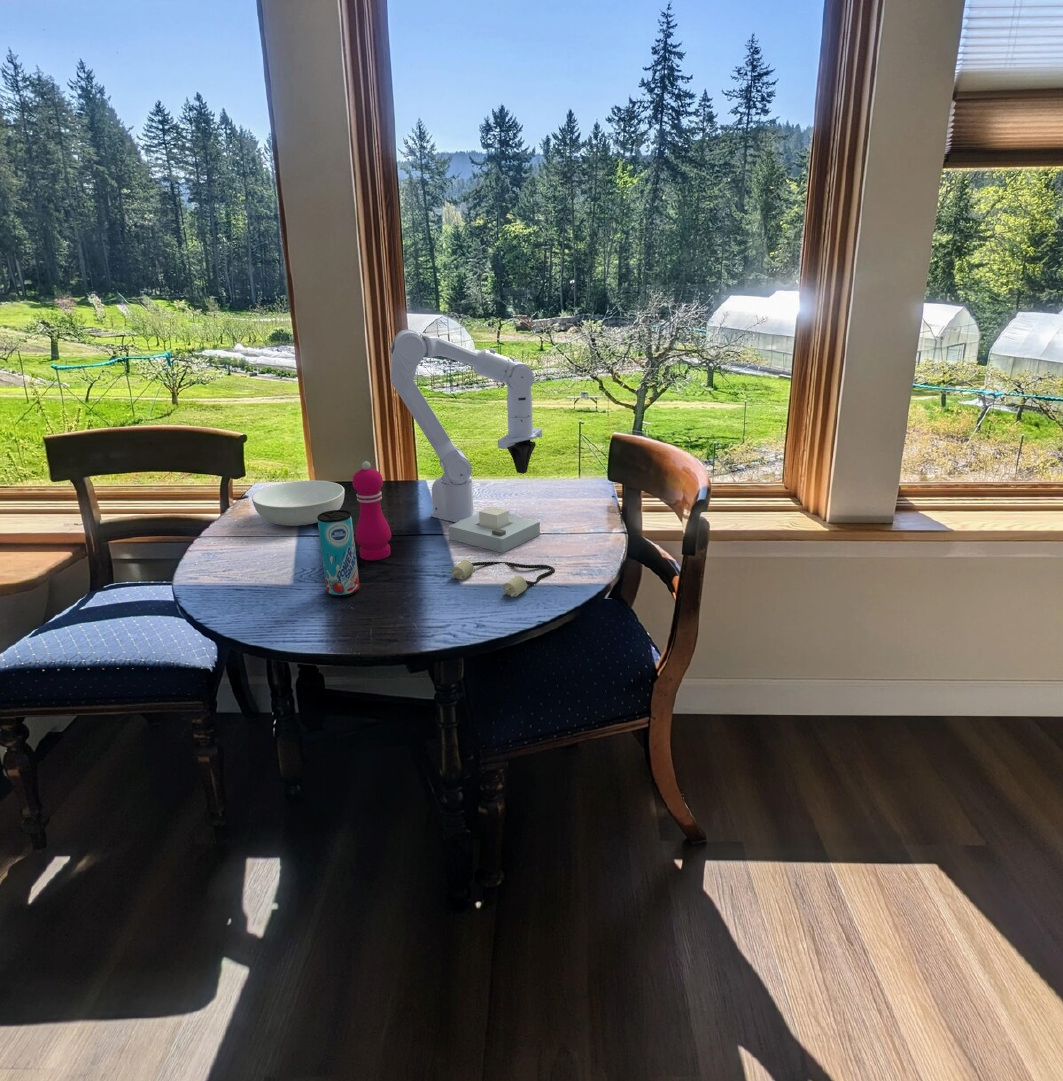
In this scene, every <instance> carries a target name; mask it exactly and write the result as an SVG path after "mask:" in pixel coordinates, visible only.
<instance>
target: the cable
mask: <svg viewBox="0 0 1063 1081" xmlns="http://www.w3.org/2000/svg"><path fill="white" fill-rule="evenodd" d="M500 563H505V564H504V565H507V566H509V565H510V566H509V567H513V568H520V569H547V568H549V569H548V570H549V571H548V570H547V571H546V572H543V573H541V574H539V575H538V576H537V578H536V580H535V581H531V580H526V579H525V578H524V577H523V576H520V575H516V576H515V575H514V577H513V578H511V579H510V580H507V581H506V582H505V583H504V584H503V586H502V589H503V590H502V595H503V596H505V595H509V596H510V597H511V598H513V597H514V598H517V597H518V596H519V595H520V594H522V593H523V592H525V590H527V588H528V586H535V585H537V584H538V583H540V581H541V580H542V579H543V578H545V576H546V577H548V576H550V574H551V575H553V574H554V573H555V572H556V568H554V566H551V565H548V564H522V563H515V562H511V561H477V562H476V561H475V562H471V561H470V560H468V559H463V560H461V561H460V562H459V563H457V564H456V565H455V566H453V567H452V568H451V575H450V576H451V579H457V580H458V579H459V580H461V581H464V580H466V579H467V578H469V576H471V575H473V573H474V570H475V568H474V567H477V566H478V567H479V566H492V565H500ZM550 569H551V570H550ZM552 573H553V574H552ZM541 578H542V579H541ZM534 584H535V585H534Z"/></svg>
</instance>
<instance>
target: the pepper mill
mask: <svg viewBox="0 0 1063 1081" xmlns="http://www.w3.org/2000/svg"><path fill="white" fill-rule="evenodd" d="M371 465H372V464H371V463H370V462H369V461H367V460H366V461H363V462H362V463H361V468H362V469H359V470H357V471H356V472H355V473H354V475H353V476H352V487H353V489H354V490H355V491H356V492H357V493H356V501H357V502H358V503H359V509H360V510H359V519H358V521H357V525H356V529H355V540H356V542H357V544H359V545H360V547H359V556H360V558H361V559H362V560H366V561H380V560H383V559H386V558H388V557H389V556H391V546H390V544H389V542H390V540H391V538H392V532H391V527H390V525H389V523H388V521H387V518H386V517H385V516H384V514H383V511H382V506H381V500H382V499H383V496H382V493H383V492H382V491H381V489H382V488H383V485H384V479H383V475H382V474H381V473H380V471H378V470H377V469H375V468H371Z"/></svg>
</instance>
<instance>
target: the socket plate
mask: <svg viewBox="0 0 1063 1081" xmlns="http://www.w3.org/2000/svg"><path fill="white" fill-rule="evenodd" d="M540 525H541V524H540V521H539V520H535V519H529V518H524V517H520V516H515V515H511V514H509V525H508V526H506V527H504V528H502V529H491V528H486V527H482V526H480V521H479V514H476V515H474V516H471V517H469V518H467V519H464V520H462V521H459V522H457V523H456V522H453V524H449V525H448V539H449V540H453V541H456V542H460V543H464V544H467V545H471V546H475V547H479V548H483V549H486V550H490V551H491V550H492V551H495V552H498V553H502V554H504V553H506V552H509V550H512V549H513V548H515V547H517V546H521V544H524V543H526V542H527V541H530V540H532V539H534V538H536V537H538V536H540V535H541V529H540V528H541V526H540Z"/></svg>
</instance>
